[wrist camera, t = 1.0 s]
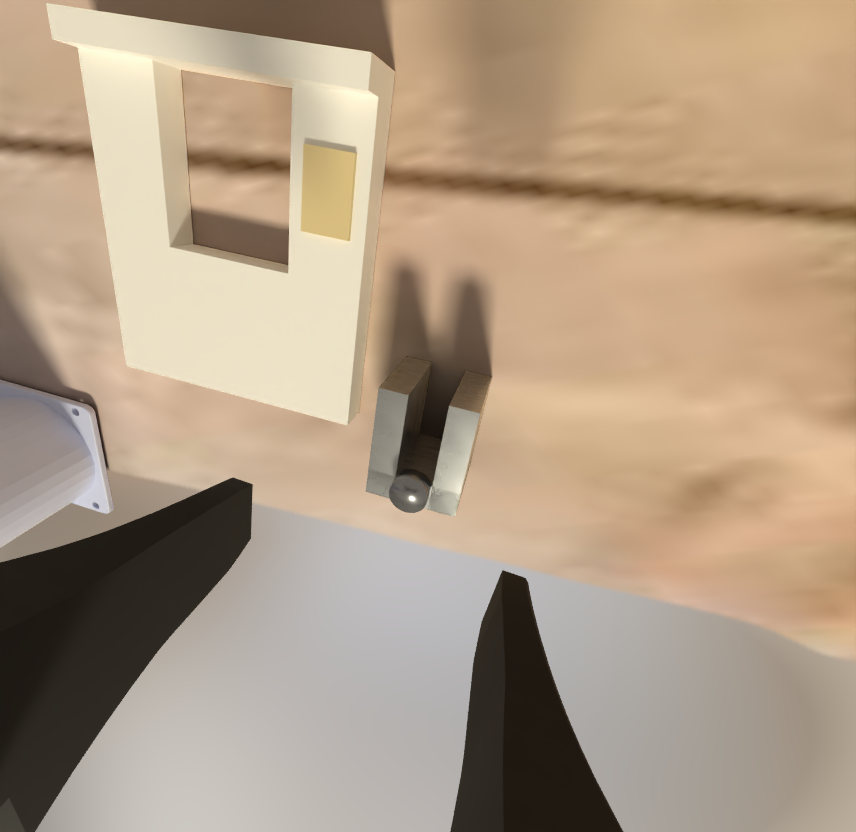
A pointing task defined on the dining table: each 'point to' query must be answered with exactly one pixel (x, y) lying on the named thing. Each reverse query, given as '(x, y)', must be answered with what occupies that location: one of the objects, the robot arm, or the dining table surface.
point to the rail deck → (225, 271)
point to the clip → (423, 440)
